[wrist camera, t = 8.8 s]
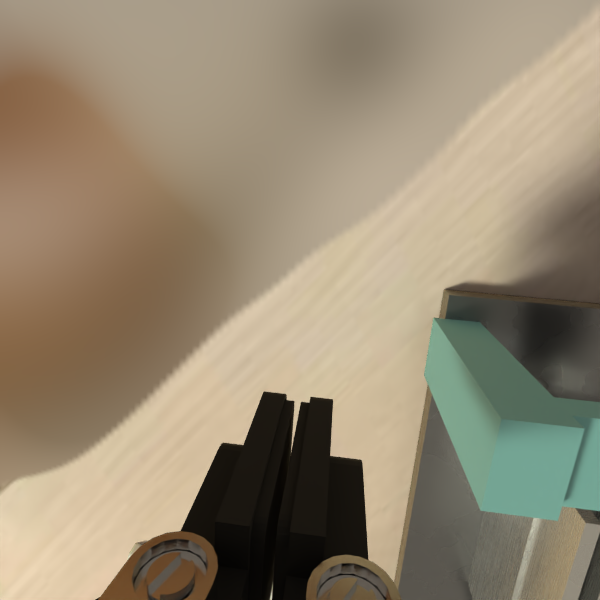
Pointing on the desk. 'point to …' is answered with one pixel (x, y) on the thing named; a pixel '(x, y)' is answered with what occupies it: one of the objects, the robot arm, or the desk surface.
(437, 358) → the clip
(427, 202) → the desk surface
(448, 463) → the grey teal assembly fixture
